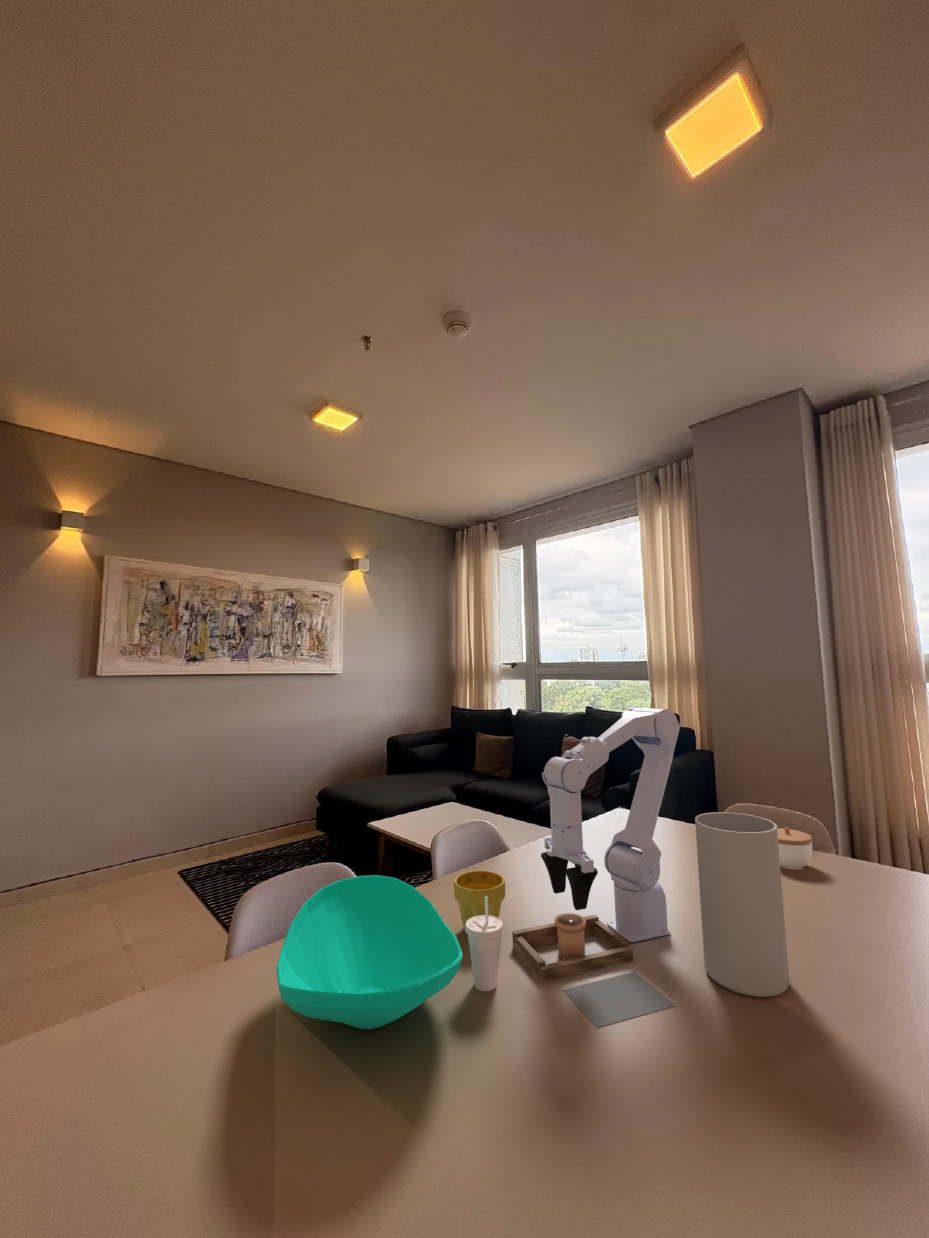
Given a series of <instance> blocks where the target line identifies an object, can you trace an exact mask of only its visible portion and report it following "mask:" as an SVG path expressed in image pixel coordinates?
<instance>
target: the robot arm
mask: <svg viewBox="0 0 929 1238" xmlns="http://www.w3.org/2000/svg"><path fill="white" fill-rule="evenodd" d="M680 728H681V726H680V724H679V721H678V718H677V716H676V714H675V712H674V711H673V709H670V708H654V707H653V708H651V707H648V708H647V707H639V706H631V707H629V708H628V709H627V710H626V711H623V712H621V717H620V718H619V719H618V720H617V721H616V722H615V723H614V724H612V725H611V726H610V727H609V728H608V729H606V730H605V731H604V732H602V734H601V735H599V736H597V737H595V736H583V737H582V738H580V742H579V743H578V744H577V745H575V746H574V747H572V748H571V749H568V750H565V751H564V754H563V755H562V756H561V757H560V756H554V757H551V758H550V759H549V760H548V761H547V762H546V763H545V766H544V767H543V772H541V777H542V780H543V783H544V784H545V785H546V787H547V794H548V796H549V808H550V809H549V812H550V813H549V815H550V816H549V817H550V829H551V830H550V835H551V836H549V837H544V838H543V839H544V849H546V850H545V851H546V852H545V851H544V852H541V854H540V858H541V859H542V861H543V863H544V865H545V868H546V870H547V873H548V876H549V880H550V884H551V888H552V891H553V893H554V894H556V895H558V894H560V893H561V894H562V893H565V892H566V886H567V880H568V883H569V887H570V892H571V898H572V906H573V908H574V910H575V911H580V910H586V909H587V906H588V901H589V896H590V893H591V888H592V886H593V883H594V881H595V879H596V877H597V876H598V873H599V872H598V868H596V867H594V864H595V863H594V859H592V858H591V857H590V856H589V854H588V853H587V851H586V849H585V848H584V843H583V842H584V840H583V824H582V823H583V819H582V798H581V790H583V789H584V788H585V786H586V783H587V781H588V778H589V777H590V775H591V774H593V773H595V771H596V770H598V769H599V768H601V767H602V766H603V765H604V764H606V763H607V762H608V761H609V756H610V752H612V751H614V750H615V749H617V748H618V747H619V746H622V745H623V744H625V743H626V742H628V741H630V739H632V740H633V742H635V744H636V745H637V747H638V748H639V749H641V750H642V752H643V755H644V758H643V761H642V762H643V763H642V764H641V765H642V766H641V769H640V772H639V777H638V780H637V783H636V786H635V787H636V788H635V790H634V791H635V792H634V794H633V795H634V796H633V799H632V803H631V805H630V806H631V807H630V810H629V814H628V817H627V821H626V825H625V828H624V829H622V830H621V831H619V832H617V833H615V834H614V835H613V837H612V839H611V840H612V841H611V843H610V845H609V846H608V847H607V849H606V850H605V854H604V858H603V860H604V862H603V864H604V867H605V869H606V871H607V872H608V873H609V874H610V879H611V881H612V882H613V890H614V892H613V893H614V913H615V920H612V921H607V922H606V926H608V927H609V928H610V929H611V930H613V931H614V932H615V933H617V934H618V935H619V936H621V937H622V938H623V939H625V940H626V941H627V942H629V943H635V942H640V941H645V940H649V939H650V940H651V939H655V938H659V937H662V936H668V935H671V930H670V929H669V927H668V924H669V923H668V912H667V909H668V908H667V897H666V893H665V891H664V889H663V887H662V885H661V884H660V883H659V882H658V881H659V878H660V876H661V864H660V863H661V857H662V851H661V850H660V849H659V846H658V845H657V844H656V842H655V841H654V839H653V837H654V834H655V829H656V825H657V822H658V818H659V813H660V809H661V807H662V803H663V802H662V801H663V799H664V794H665V790H666V786H667V783H668V778H669V775H670V771H671V766H672V762H673V758H674V752H675V750H676V749H675V748H676V744H677V742H678V741H677V740H678V737H679V734H680V733H679V732H680ZM634 848H636V849H634ZM640 850H641V851H640ZM569 862H570V863H572V864H573V865H574V867H568V866H569V865H568V863H569Z"/></svg>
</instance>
